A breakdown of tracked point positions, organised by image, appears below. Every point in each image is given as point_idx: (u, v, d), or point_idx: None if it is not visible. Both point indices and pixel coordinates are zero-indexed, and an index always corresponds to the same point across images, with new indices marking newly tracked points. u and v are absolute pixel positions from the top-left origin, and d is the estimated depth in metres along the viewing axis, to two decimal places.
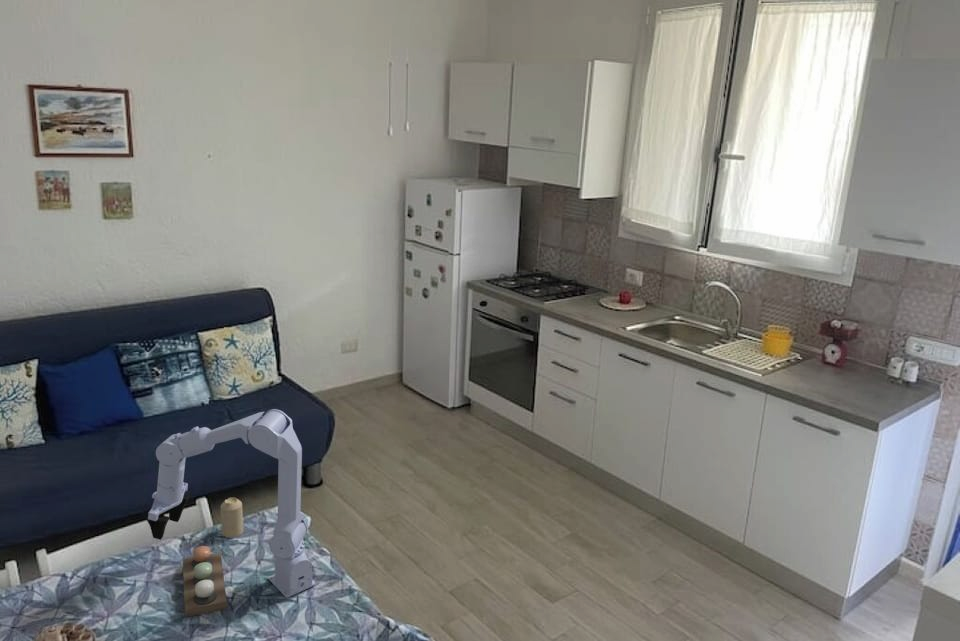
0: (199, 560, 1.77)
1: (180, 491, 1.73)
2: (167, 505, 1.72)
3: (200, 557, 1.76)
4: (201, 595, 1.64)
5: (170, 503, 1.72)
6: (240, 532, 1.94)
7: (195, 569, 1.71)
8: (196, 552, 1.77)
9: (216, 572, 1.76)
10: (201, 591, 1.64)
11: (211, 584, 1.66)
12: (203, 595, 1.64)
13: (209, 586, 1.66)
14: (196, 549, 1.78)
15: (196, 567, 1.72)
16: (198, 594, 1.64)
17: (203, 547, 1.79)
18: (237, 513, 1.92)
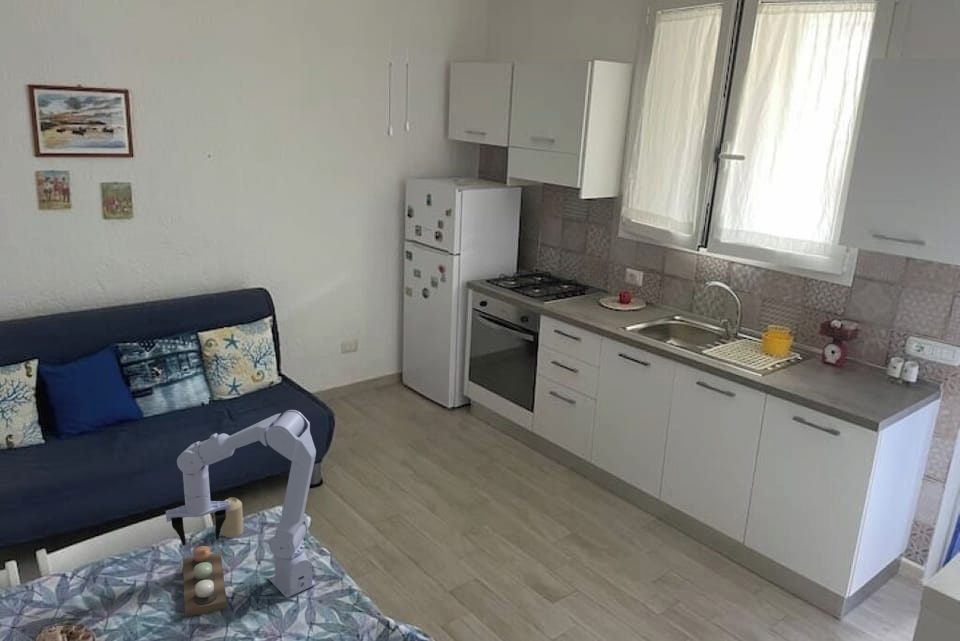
0: (199, 560, 1.77)
1: (197, 504, 1.71)
2: (186, 512, 1.73)
3: (200, 557, 1.76)
4: (201, 595, 1.64)
5: (188, 512, 1.72)
6: (240, 532, 1.94)
7: (195, 569, 1.71)
8: (196, 552, 1.77)
9: (216, 572, 1.76)
10: (201, 591, 1.64)
11: (211, 584, 1.66)
12: (203, 595, 1.64)
13: (209, 586, 1.66)
14: (196, 549, 1.78)
15: (196, 567, 1.72)
16: (198, 594, 1.64)
17: (203, 547, 1.79)
18: (237, 513, 1.92)
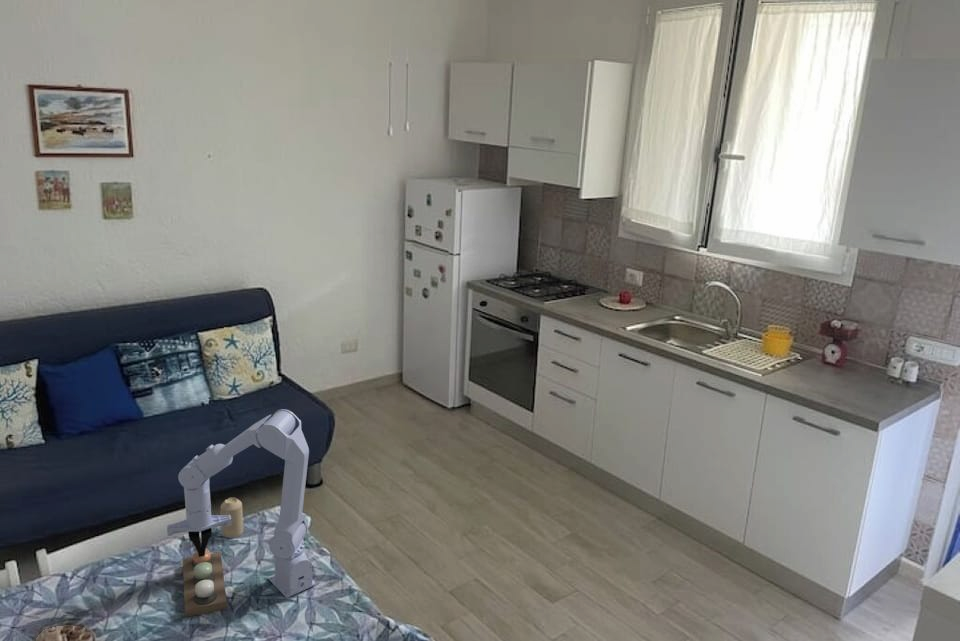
0: None
1: (198, 518, 1.72)
2: (187, 527, 1.74)
3: (200, 560, 1.77)
4: (201, 595, 1.64)
5: (189, 526, 1.73)
6: (240, 532, 1.94)
7: (195, 569, 1.71)
8: (196, 555, 1.78)
9: (216, 572, 1.76)
10: (201, 591, 1.64)
11: (211, 584, 1.66)
12: (203, 595, 1.64)
13: (209, 586, 1.66)
14: (196, 552, 1.79)
15: (196, 567, 1.72)
16: (198, 594, 1.64)
17: None
18: (237, 513, 1.92)
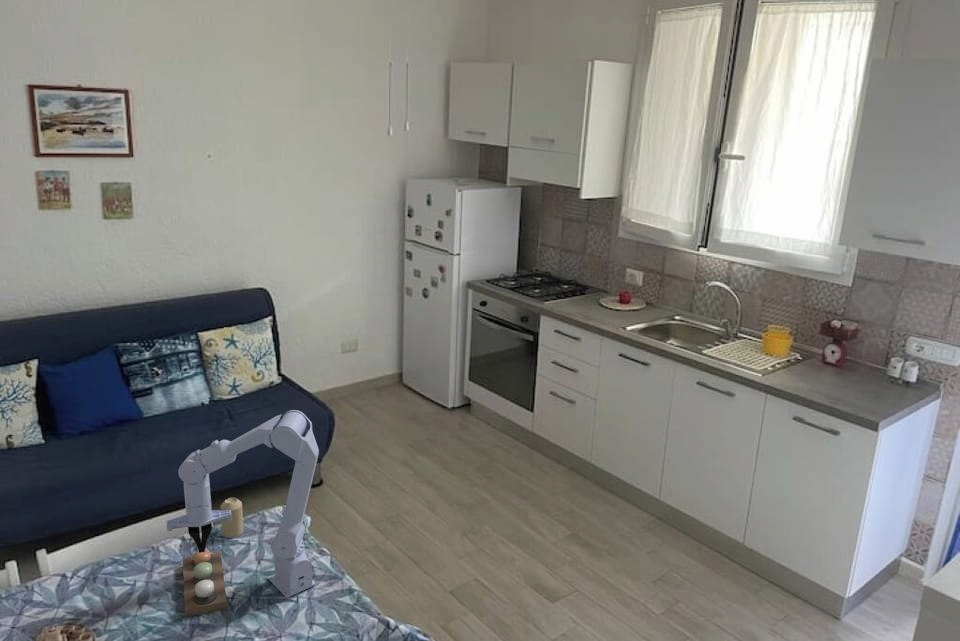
0: None
1: (198, 513, 1.69)
2: (187, 522, 1.71)
3: (200, 560, 1.77)
4: (201, 595, 1.64)
5: (188, 521, 1.70)
6: (240, 532, 1.94)
7: (195, 569, 1.71)
8: (196, 556, 1.78)
9: (216, 572, 1.76)
10: (201, 591, 1.64)
11: (211, 584, 1.66)
12: (203, 595, 1.64)
13: (209, 586, 1.66)
14: (196, 553, 1.79)
15: (196, 567, 1.72)
16: (198, 594, 1.64)
17: None
18: (237, 513, 1.92)
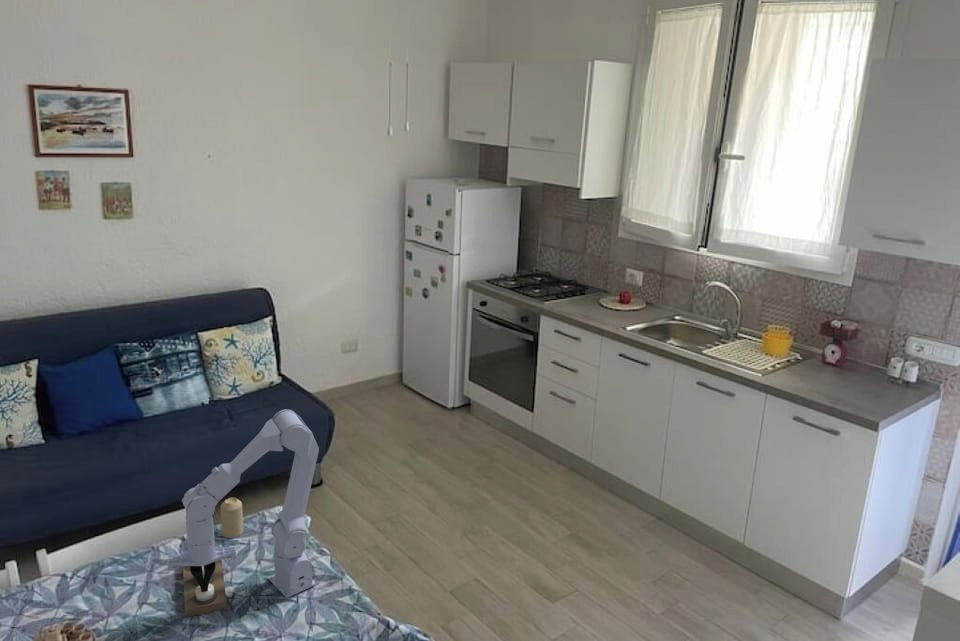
0: None
1: (200, 552, 1.60)
2: (189, 561, 1.61)
3: None
4: (201, 599, 1.65)
5: (191, 560, 1.61)
6: (240, 532, 1.94)
7: None
8: None
9: (216, 572, 1.76)
10: (201, 595, 1.64)
11: (211, 588, 1.67)
12: (203, 599, 1.65)
13: (209, 589, 1.66)
14: None
15: None
16: (198, 598, 1.65)
17: None
18: (237, 513, 1.92)
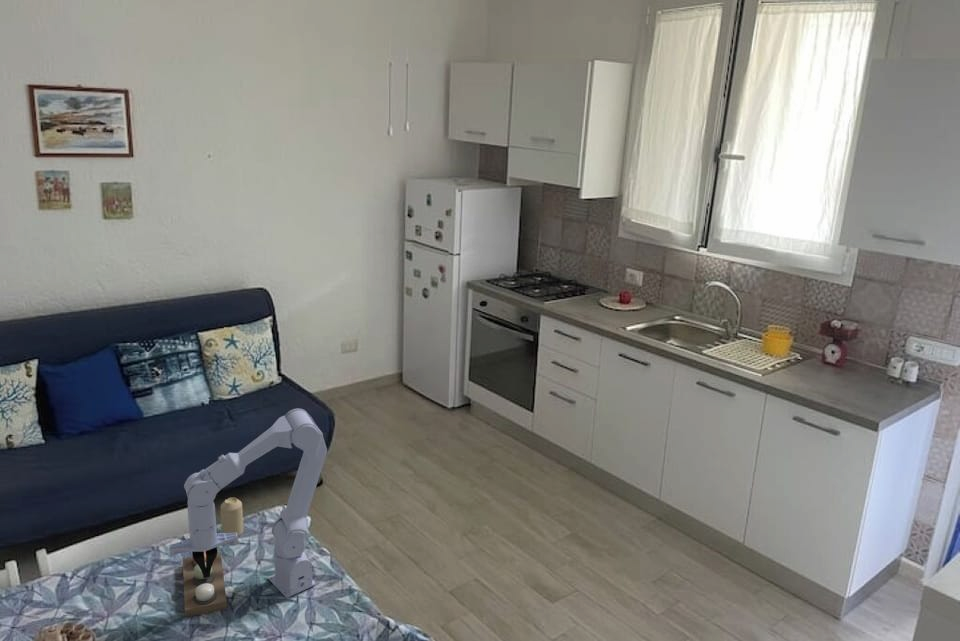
0: None
1: (202, 537, 1.60)
2: (191, 546, 1.61)
3: None
4: (201, 599, 1.65)
5: (193, 546, 1.61)
6: (240, 532, 1.94)
7: (195, 569, 1.71)
8: None
9: (216, 572, 1.76)
10: (201, 595, 1.64)
11: (211, 588, 1.67)
12: (203, 599, 1.65)
13: (209, 589, 1.66)
14: None
15: (196, 567, 1.72)
16: (198, 598, 1.65)
17: None
18: (237, 513, 1.92)
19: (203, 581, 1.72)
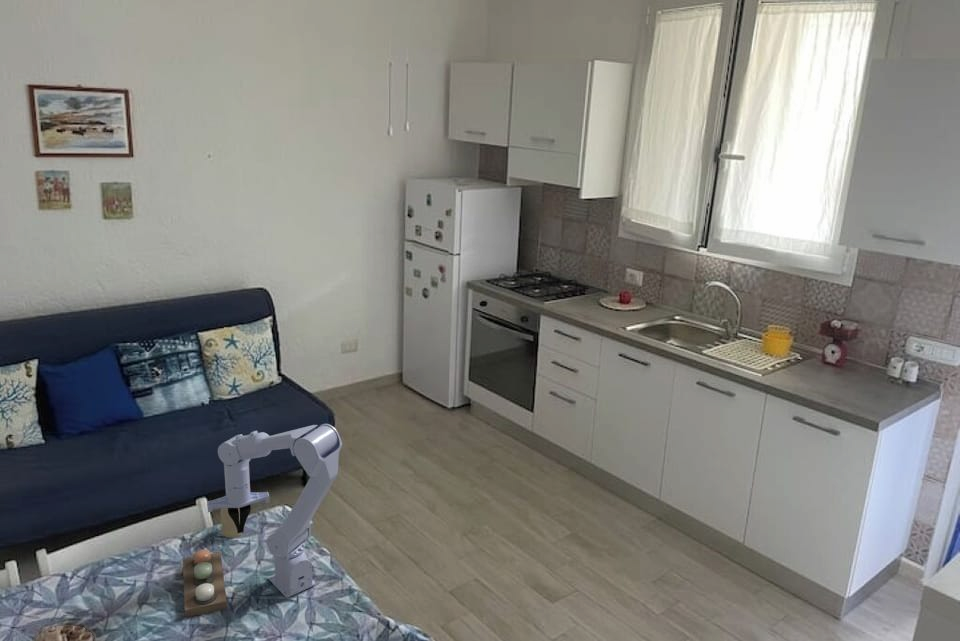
0: None
1: (238, 494, 1.74)
2: (226, 503, 1.75)
3: (200, 560, 1.77)
4: (201, 599, 1.65)
5: (228, 502, 1.75)
6: None
7: (195, 569, 1.71)
8: (196, 556, 1.78)
9: (216, 572, 1.76)
10: (201, 595, 1.64)
11: (211, 588, 1.67)
12: (203, 599, 1.65)
13: (209, 589, 1.66)
14: (196, 553, 1.79)
15: (196, 567, 1.72)
16: (198, 598, 1.65)
17: (203, 550, 1.80)
18: None
19: (203, 581, 1.72)
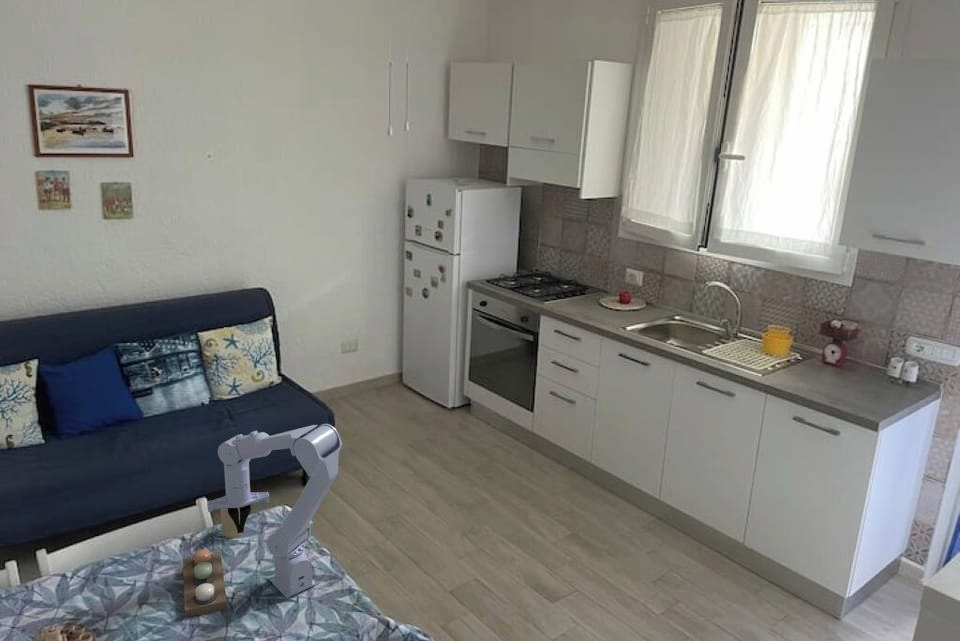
0: None
1: (238, 494, 1.74)
2: (226, 503, 1.75)
3: (200, 560, 1.77)
4: (201, 599, 1.65)
5: (228, 502, 1.75)
6: None
7: (195, 569, 1.71)
8: (196, 556, 1.78)
9: (216, 572, 1.76)
10: (201, 595, 1.64)
11: (211, 588, 1.67)
12: (203, 599, 1.65)
13: (209, 589, 1.66)
14: (196, 553, 1.79)
15: (196, 567, 1.72)
16: (198, 598, 1.65)
17: (203, 550, 1.80)
18: None
19: (203, 581, 1.72)
